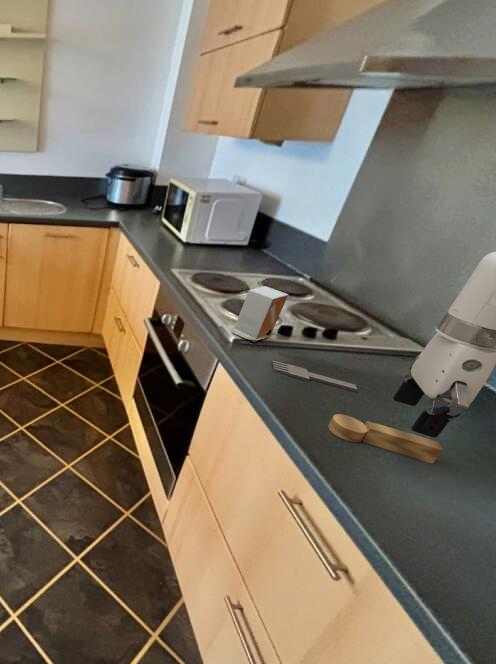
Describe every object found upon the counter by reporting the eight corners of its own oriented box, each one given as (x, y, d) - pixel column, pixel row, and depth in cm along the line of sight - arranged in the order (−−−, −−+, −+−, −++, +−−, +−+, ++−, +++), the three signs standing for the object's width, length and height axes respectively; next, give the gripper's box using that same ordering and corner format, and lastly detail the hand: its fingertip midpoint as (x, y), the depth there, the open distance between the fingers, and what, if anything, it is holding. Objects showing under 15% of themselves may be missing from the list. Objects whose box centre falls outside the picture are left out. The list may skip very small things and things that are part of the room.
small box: (254, 344, 109) (273, 298, 103) (231, 333, 113) (248, 289, 107) (270, 338, 113) (289, 294, 107) (247, 327, 117) (264, 285, 111)
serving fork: (352, 384, 94) (354, 381, 94) (357, 395, 90) (359, 392, 90) (271, 362, 100) (272, 359, 100) (272, 371, 97) (274, 368, 96)
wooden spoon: (424, 450, 75) (434, 437, 74) (435, 468, 71) (446, 455, 70) (325, 420, 81) (332, 407, 80) (330, 435, 77) (338, 422, 76)
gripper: (540, 364, 56) (463, 457, 64) (479, 318, 70) (422, 399, 78) (466, 347, 59) (401, 437, 67) (421, 306, 73) (372, 385, 81)
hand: (412, 417), depth 72 cm, fingers open, 9 cm apart
